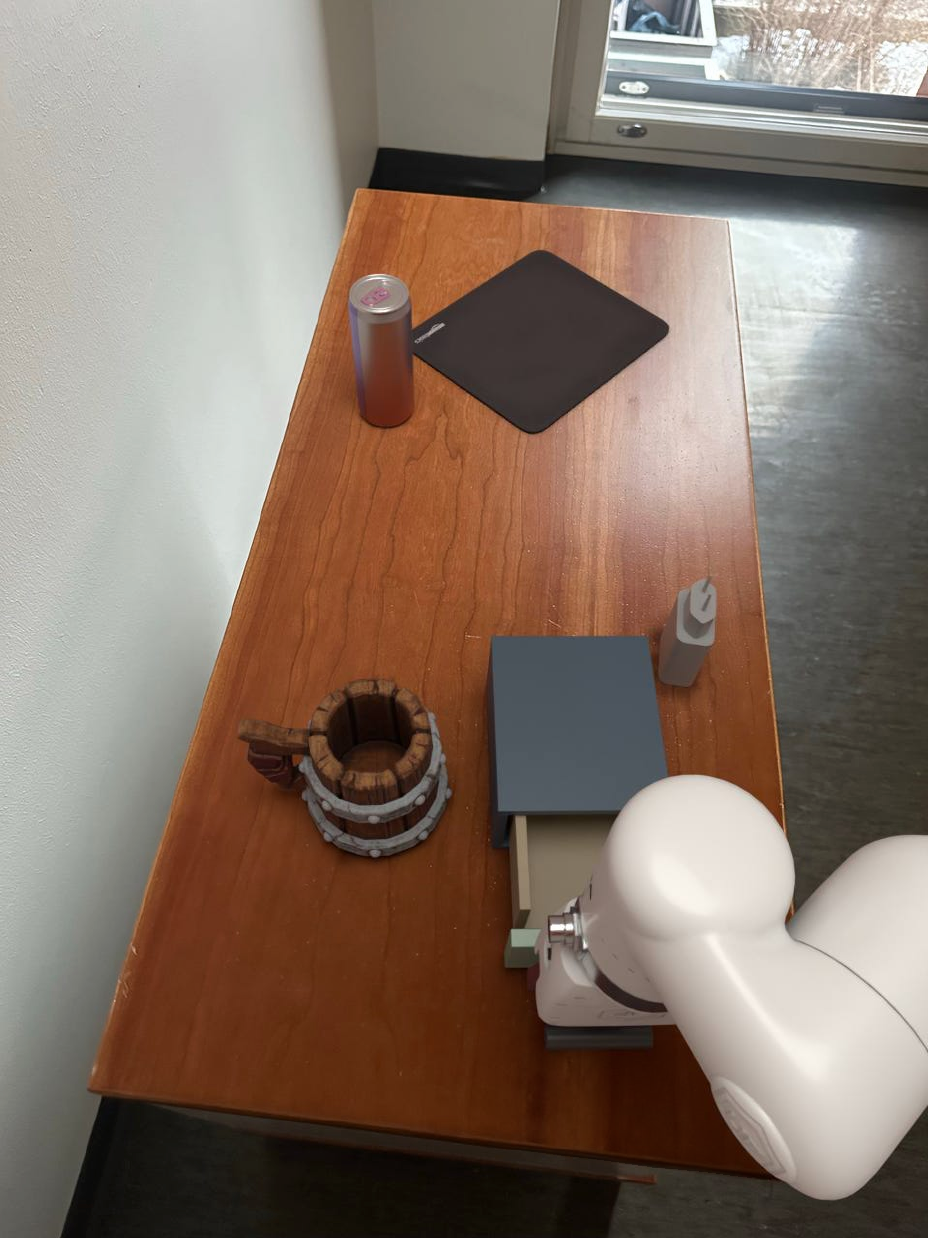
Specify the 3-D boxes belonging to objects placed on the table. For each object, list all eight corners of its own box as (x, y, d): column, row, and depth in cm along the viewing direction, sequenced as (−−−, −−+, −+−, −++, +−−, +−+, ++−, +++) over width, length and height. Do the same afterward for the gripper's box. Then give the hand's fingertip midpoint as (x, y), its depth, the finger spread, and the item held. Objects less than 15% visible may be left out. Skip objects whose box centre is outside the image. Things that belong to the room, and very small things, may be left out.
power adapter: (658, 682, 79) (690, 609, 69) (660, 631, 82) (692, 553, 72) (693, 688, 79) (730, 615, 69) (694, 636, 82) (730, 559, 72)
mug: (464, 862, 70) (430, 793, 57) (288, 876, 71) (216, 812, 59) (459, 726, 76) (427, 636, 64) (297, 741, 78) (234, 657, 65)
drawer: (671, 1056, 62) (694, 1043, 57) (508, 1058, 62) (515, 1045, 56) (637, 791, 73) (654, 758, 67) (497, 792, 72) (503, 758, 67)
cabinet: (649, 848, 71) (673, 810, 64) (491, 849, 71) (498, 811, 64) (628, 686, 79) (647, 635, 72) (486, 686, 79) (491, 635, 71)
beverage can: (347, 409, 96) (333, 292, 83) (387, 381, 98) (379, 263, 86) (386, 438, 94) (378, 322, 81) (425, 409, 96) (424, 292, 84)
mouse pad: (540, 247, 112) (540, 245, 112) (675, 328, 104) (675, 326, 104) (395, 340, 102) (395, 339, 102) (533, 438, 94) (533, 436, 94)
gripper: (505, 1012, 43) (490, 1062, 58) (813, 1007, 43) (718, 1058, 59) (499, 859, 47) (486, 943, 62) (781, 855, 47) (699, 940, 63)
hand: (598, 999), depth 60 cm, fingers closed
